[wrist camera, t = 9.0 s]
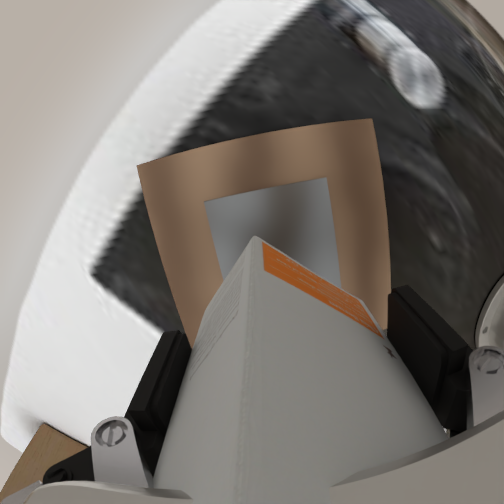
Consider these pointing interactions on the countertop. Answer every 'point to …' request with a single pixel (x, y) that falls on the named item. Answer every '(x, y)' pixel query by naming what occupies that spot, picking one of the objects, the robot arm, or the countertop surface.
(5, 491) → the wooden block
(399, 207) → the countertop surface
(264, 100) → the countertop surface
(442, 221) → the countertop surface
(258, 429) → the skincare box
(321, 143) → the walnut picture frame
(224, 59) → the countertop surface
